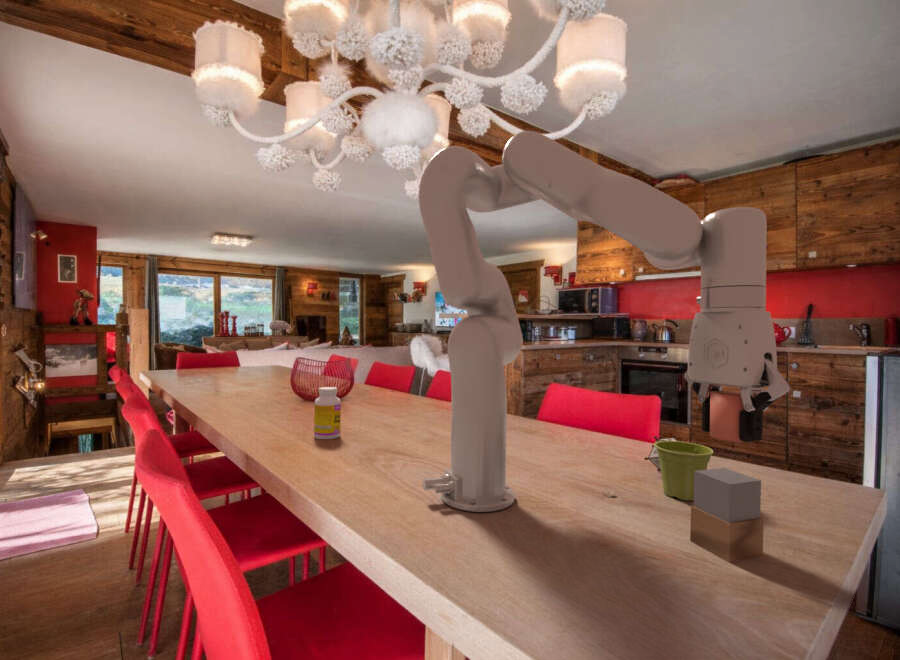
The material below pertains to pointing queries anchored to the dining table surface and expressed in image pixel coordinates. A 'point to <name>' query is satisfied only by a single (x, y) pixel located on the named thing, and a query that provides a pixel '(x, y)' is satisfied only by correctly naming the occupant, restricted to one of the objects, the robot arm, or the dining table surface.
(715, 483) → the tower top
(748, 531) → the tower base
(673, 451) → the plant pot
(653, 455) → the game die
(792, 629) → the dining table surface
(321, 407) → the supplement bottle
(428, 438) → the dining table surface
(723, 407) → the cylinder
